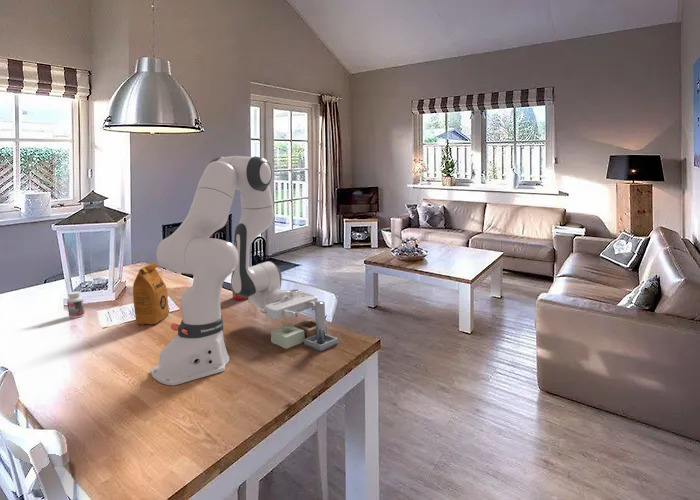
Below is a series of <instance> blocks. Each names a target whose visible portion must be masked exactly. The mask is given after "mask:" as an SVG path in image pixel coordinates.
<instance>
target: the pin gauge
mask: <svg viewBox="0 0 700 500" xmlns="http://www.w3.org/2000/svg"><path fill="white" fill-rule="evenodd" d="M325 305H326V303H325V301H322V300H321V301H320V300H318V302H315V311H314V313H315V314H314V315H315V320H316V343H318V344H320V345H321V344H324V343H326V333H327V328H326V329H325V324H326V306H325Z"/></svg>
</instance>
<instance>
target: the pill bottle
mask: <svg viewBox="0 0 700 500" xmlns="http://www.w3.org/2000/svg"><path fill="white" fill-rule="evenodd" d="M80 292H81V291H76V290H75V291H71V292H68V295H67V296H68V298H67V299H66V303H67V304H66V305H67V311H68V317H69V318H71V319H79V318H82V317H84V316H85V312H86V311H85V305H84V298H83V297H82V296H81V293H80Z"/></svg>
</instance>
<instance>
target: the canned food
mask: <svg viewBox="0 0 700 500" xmlns="http://www.w3.org/2000/svg"><path fill="white" fill-rule="evenodd" d="M231 277H232V275H231ZM231 290H232V291H231V292H232V299H233V300H235V301H241V302H242V301H246V300H249V298H248V297H247V298H244V297H241V296H239V295H237V294H236V293H235V292H234V291H233V289H232V288H231Z"/></svg>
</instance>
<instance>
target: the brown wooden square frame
mask: <svg viewBox="0 0 700 500" xmlns="http://www.w3.org/2000/svg"><path fill="white" fill-rule="evenodd" d="M293 326H294V327H297V328H299V329H302V330H304V335H305V339H306V338H308V337H311V336H313V335H316V319H313V318H310V319H307V320H304V321H301V322H298V323H296V324H294V325H293ZM325 329H326V330H327V323H325ZM326 334H327V335H328V333H327V332H326Z"/></svg>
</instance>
